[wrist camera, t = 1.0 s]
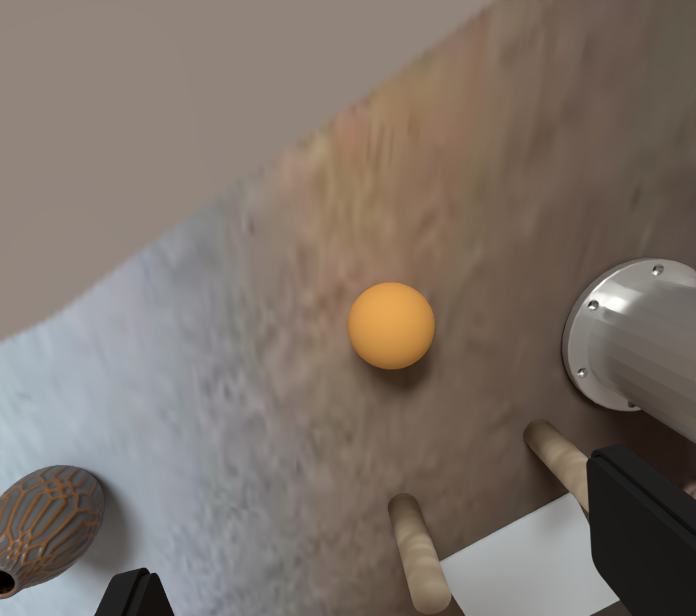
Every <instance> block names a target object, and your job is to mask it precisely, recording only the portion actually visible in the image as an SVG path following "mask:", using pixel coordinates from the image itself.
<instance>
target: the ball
mask: <svg viewBox="0 0 696 616" xmlns="http://www.w3.org/2000/svg"><path fill="white" fill-rule="evenodd" d="M434 331H435V321H434V316H433V312H432V309H431V307H430V305H429V304H428V302H427V301H426V299H425V298H424V297H423V296H422V295H421V294H420V293H419V292H418V291H416V290H415V289H413V288H411V287H409V286H407V285H404V284H400V283H392V282H391V283H382V284H378V285H375V286H373V287H371V288H369V289H367V290H366V291H364V292H363V293H362V294H361V295H360V296H359V297H358V298H357V300H356V301H355V302H354V304H353V306H352V308H351V310H350V313H349V317H348V334H349V338H350V341H351V344H352V346H353V348H354V349H355V351H356V352H357V353H358V355H359V356H360V357H361V358H363V359H364V360H365V361H366V362H368V363H369V364H371V365H373V366H376V367H379V368H383V369H400V368H404V367H407V366H409V365H411V364H413V363H415V362H416V361H418V360H419V359H420V358H421V357H422V356H423V355H424V354H425V353H426V352H427V350H428V349H429V347H430V345H431V343H432V340H433V337H434Z"/></svg>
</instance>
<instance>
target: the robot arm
mask: <svg viewBox="0 0 696 616" xmlns="http://www.w3.org/2000/svg"><path fill="white" fill-rule="evenodd" d="M562 354H563V360H564V365H565V368H566V371H567V373H568V376H569V378H570V379H571V381H572V382H573V384H574V385H575V387H576V388H577V389H578V390H580V391H581V392H582V393H583V394H584V395H585V396H586V397H588V398H589V399H591V400H592V401H594V402H595V403H597V404H599V405H601V406H603V407H606V408H609V409H613V410H618V411H638V410H643V411H645V412H647V413H648V414H650V415H651V416H653V417H654V418H656V419H657V420H659V421H661V422H662V423H664V424H665V425H667V426H668V427H670V428H672V429H673V430H675V431H676V432H678V433H679V434H681V435H682V436H684V437H686V438H687V439H689V440H690V441H692V442H693V443H695V444H696V271H695V270H693V269H692V268H691V267H689V266H687V265H684V264H682V263H679V262H676V261H671V260H666V259H660V258H643V259H636V260H631V261H629V262H626V263H623V264H620V265H617V266H616V267H614V268H612V269H610V270H608V271H607V272H605V273H603V274H602V275H601V276H600V277H598V278H597V279H596V280H595V281H593V282H592V283H591V284H590V285H589V286H588V287H587V289H586V290H585V291H584V292H583V293H582V294H581V295H580V297H579V298H578V300H577V302H576V303H575V305H574V306H573V308H572V310H571V312H570V314H569V317H568V319H567V321H566V325H565V329H564V333H563V341H562ZM586 471H587V488H588V506H589V523H590V540H591V556H592V560H593V563H594V565H595V568H596V569H597V571H598V573H599V574H600V576H601V577H602V578H603V579H604V581H605V582H606V583H607V584H608V586H609V587H610V588H611V589H612V591H613V592H614V593H615V594H616V595H617V597H618V598H619V599H620V600H621V602H622V603H623V604H624V605H625V607H626V608H627V609H628V610H629V612H630V613H631V614H632V615H633V616H696V500H695V499H694V498H693V497H691V496H690V495H689V494H687V493H686V492H685V491H683V490H682V489H681V488H680V487H678V486H677V485H676V484H674V483H673V482H672V481H670V480H669V479H668V478H666V477H665V476H664V475H662V474H661V473H660V472H659V471H657V470H656V469H655V468H653V467H652V466H651V465H649V464H648V463H647V462H645V461H644V460H643V459H641V458H640V457H639V456H637V455H636V454H635V453H634V452H632V451H631V450H630V449H628V448H627V447H625V446H624V445H621V444H616V445H613V446H609V447H605V448H601V449H597V450H594V451H593V452H592V455H591V459H588V460H587V462H586ZM94 616H174V613H173V611H172V608H171V606H170V603H169V601H168V598H167V596H166V593H165V591H164V588H163V586H162V583H161V581H160V578H159V576H158V575H157V574H156V573H151V574H150V572H149V571H148V569H146V568H140V569H136V570H132V571H128V572H124V573H121V574H117V575H115V576H114V577H113V578H112V579H111V581H110V583H109V585H108V587H107V589H106V592H105V594H104V596H103V598H102V600H101V602H100V605H99V607H98V609H97V611H96V613H95V615H94Z"/></svg>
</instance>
